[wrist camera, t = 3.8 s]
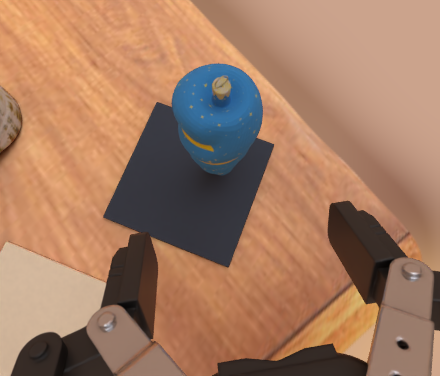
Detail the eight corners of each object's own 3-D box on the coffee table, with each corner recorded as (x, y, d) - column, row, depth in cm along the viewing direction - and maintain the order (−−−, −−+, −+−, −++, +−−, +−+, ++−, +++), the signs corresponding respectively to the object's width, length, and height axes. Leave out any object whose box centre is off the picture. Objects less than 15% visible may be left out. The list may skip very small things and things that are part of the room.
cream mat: (152, 301, 27) (151, 302, 27) (79, 480, 25) (76, 484, 24) (8, 241, 29) (5, 241, 28) (-77, 406, 26) (-82, 408, 25)
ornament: (180, 160, 30) (140, 64, 15) (226, 131, 30) (231, 11, 16) (211, 206, 29) (200, 152, 14) (258, 175, 29) (295, 92, 15)
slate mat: (273, 145, 30) (274, 144, 30) (228, 267, 28) (228, 267, 28) (157, 103, 31) (156, 101, 31) (104, 217, 29) (102, 217, 29)
